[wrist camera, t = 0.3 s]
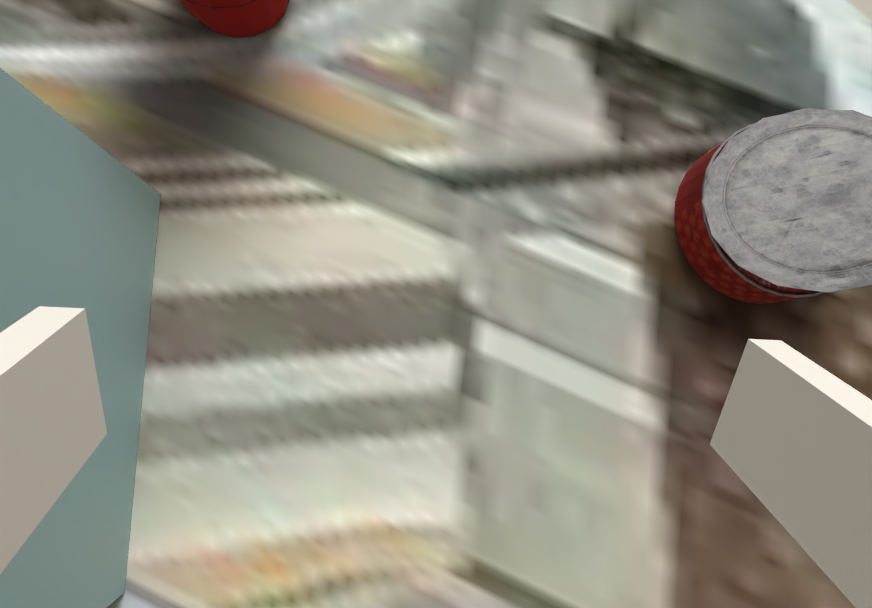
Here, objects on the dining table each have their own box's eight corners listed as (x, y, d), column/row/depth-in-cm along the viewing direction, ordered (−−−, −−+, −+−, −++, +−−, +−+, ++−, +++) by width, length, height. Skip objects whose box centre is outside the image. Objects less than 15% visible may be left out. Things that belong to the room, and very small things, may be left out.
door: (125, 592, 26) (-184, 847, 12) (60, 592, 25) (-334, 855, 12) (161, 194, 28) (-57, 23, 14) (102, 192, 28) (-176, 15, 14)
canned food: (706, 317, 35) (745, 359, 26) (639, 180, 35) (654, 173, 25) (900, 239, 31) (1031, 255, 22) (827, 84, 31) (928, 33, 21)
